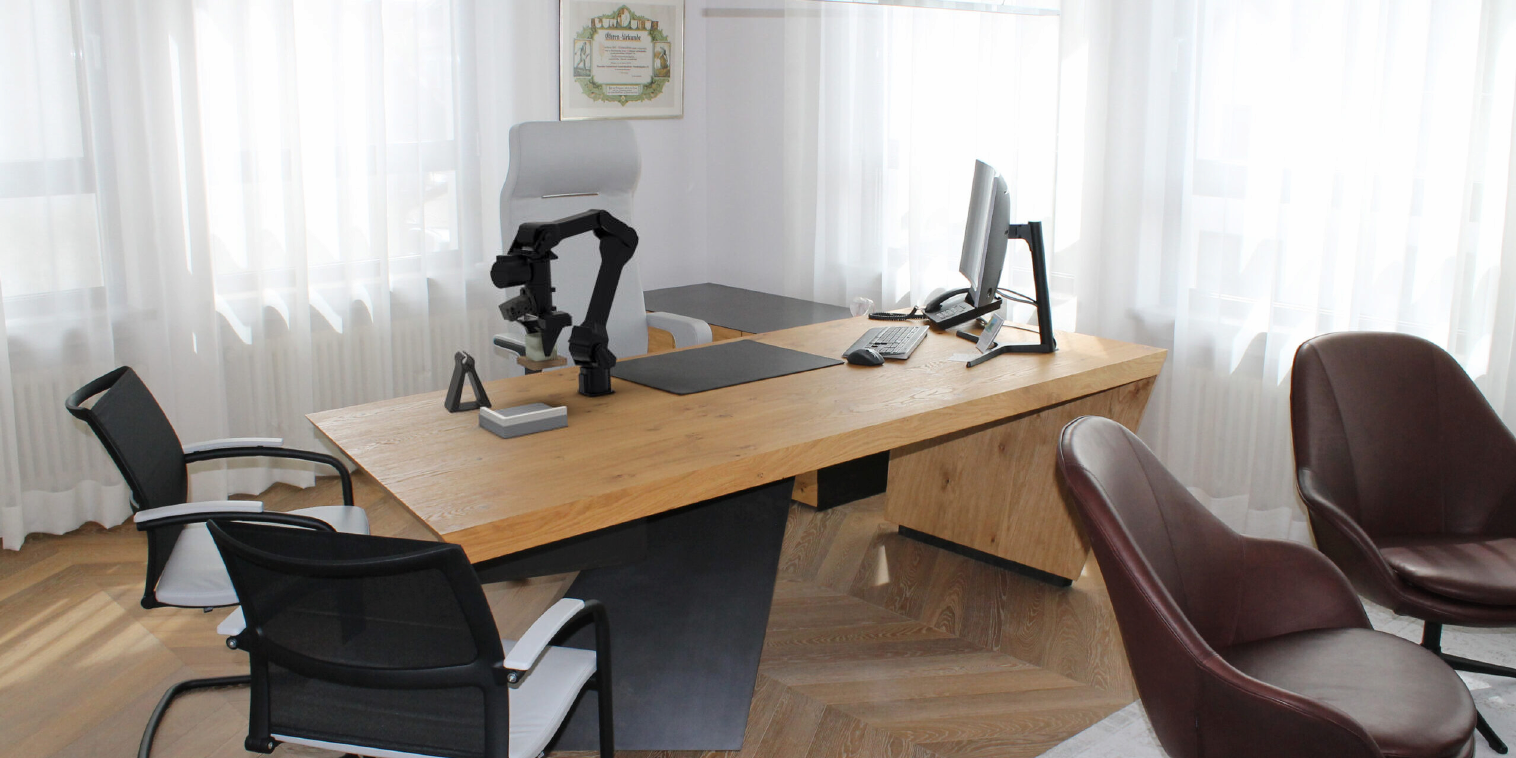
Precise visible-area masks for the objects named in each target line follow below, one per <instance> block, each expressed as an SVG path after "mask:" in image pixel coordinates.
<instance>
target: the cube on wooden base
mask: <svg viewBox="0 0 1516 758" xmlns="http://www.w3.org/2000/svg"><path fill="white" fill-rule="evenodd" d="M524 342H525V343H524V344H525V345H524V346H525V355H522V356H516V364H517V365H519V366H522V367H523V368H524V367H525V368H526V369H529V370H531V371H532V372H533V371H538V370H539V371H540V370H546V369H551V368H552V369H553V368H557V367H563V366H568V358H567V357H564V356H561V355H560V354H558V340H557V341H556V343H555V346H554V348H553V351H552V353H551V355H550V356H549V357H545V354H544V350H543V344H542V338H541V333H533V334H527V333H525V334H524Z"/></svg>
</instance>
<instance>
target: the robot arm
mask: <svg viewBox="0 0 1516 758" xmlns="http://www.w3.org/2000/svg"><path fill="white" fill-rule="evenodd" d="M516 231H517V232H516V235H515V237H514V239H513V240H512V242H511V244H510V247H509V249H508V251H507V253H506V254H498V255H496V256H495V259H496V261H495V262H494V263H492V265H491V268H490V269H491V270H490V271H489V272H490V273H489V275H490V280H491V282H492V284H493V285H494V286H495V287H496V289H497V288H498V289H500V290H501V289H508V288H514V287H519V286H520V288H519V295H517V296H515V297H512V298H510V299H508V300H505V301H504V302H502V303H501V304H499V305H498V309H499V311H500V314H501V316H502V318H503V320H505V321H506V320H507V321H509V323H510V322H511V323H513V322H516V323H518V324H519V325H520V326H521V327H523V329H524V330H525V334H533V333H541V338H542V344H543V350H544V354H545V357H549V356H550V355H551V353H552V351H553V348H554V346H555V343H556V341H557V342H558V339H559V338H560V337H559V336H560V335H561V332H562V330H563V329H565V328H566V327H572V328H571V332H570V337H569V338H568V340H567V343H568V352H569V354H570V356H571V357H572V360H573V363H574V365H575V366H579V373H578V375H577V377H578V378H577V379H578V389H577V392H578V393H580V394H583V395H586V396H588V397H597V396H602V395H608V394H614V393H615V392H616V390H615V389H613V388H612V375H611V374H612V372H611V369H612V368H615V367H616V364H617V360H618V358H617V356H616V355H615V354H614V353H613V351H611V350H610V349H609V348H608V347H609V341H610V339H609V335H608V330H607V329H608V328H607V324H608V321H609V317H610V312H611V310H612V306H613V303H614V300H615V297H616V293H617V289H618V285H619V282H620V280H621V274H622V272H623V268H624V266H625V265H626V264H627V263H628V262H629V261H630V260H631V259H632V258H633V256H634V254H635V252H636V249H637V247H638V245H639V239H640V237H639V235H638V233H637V231H636V229H635V228H634V227H631V226H629V225H628V224H627V223H625V222H623V221H622V220H620V219H618V218H617V217H615V216H613V215H612V214H611V213H610V211H608V210H605V209H600V208H599V209H598V208H590V209H588V210H586V211H583V212H580V213H577V214H573V215H569V216H566V217H563V218H558V219H556V220H551V221H531V222H527V221H526V222H523V223H521V224H520V225H519V226H518V229H517V230H516ZM590 231H591V232H592V234H593V236H594V237H595V238H597V239H598V240H599V246H598V251H599V253H600V254H599V255H600V258H601V262H600V265H599V270H598V272H597V276H596V280H595V283H594V287H593V290H592V294H591V297H590V299H589V304H588V308H587V311H586V314H585V318H584V320H583V321H582V322H581V323H580V325H575V324H574V325H573V316H572V315H571V314H570V313H569V312H567V311H563V310H558V308H557V306H556V305H554V303H553V293H556V291H557V290H556V286H552V285H553V284H552V267H551V265H552V264H551V261H555V260H556V261H557V260H558V259H559V256H558V254H556V253H555V252H553V250H552V249H555V247H557V246H559V244H560V243H561V241H564V240H565V239H568V238H571V237H574V236H575V237H576V236H577V235H578V236H579V235H582V234H584V233H587V232H590Z"/></svg>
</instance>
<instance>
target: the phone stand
mask: <svg viewBox="0 0 1516 758" xmlns="http://www.w3.org/2000/svg"><path fill="white" fill-rule="evenodd" d="M464 354H465V355H464ZM453 359H454V369H453V372H452V375H451V379H450V383H449V386H448V390H447V393H446V396H445V400H444V403H443V404H444V407H445V408H446V410H448V411H449V412H450V413H451V414H454V413H462V412H468V411H477V410H480V407H486V408H488V409H491V408H492V406H493V405H492V403H491V401H490V399H489V396H488V395H487V391H486V390H485V387H484V386H483V384H482V382H481V379H480V377H479V375H478V373H477V372H478V371H477V370H476V365H475V364H476V360H475V359H474V357H472V355H471V354H469V353H468V352H467V351H465V350H462V352H461V351H457V352H456V353H455V354H454V357H453ZM464 359H466V360H465V361H464ZM463 361H464V362H463ZM466 374H467V376H468V380H469V383H470V386H471V387H472V388H471V389H472V391H473V393H474V397H475V400H472V401H465V402H461V399H462V395H463V389H464V385H465V379H466Z"/></svg>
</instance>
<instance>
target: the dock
mask: <svg viewBox="0 0 1516 758" xmlns="http://www.w3.org/2000/svg"><path fill="white" fill-rule="evenodd" d="M477 416H478V425H479V426H480V427H482V428H484V429H485V430H488V431H490V432H491V433H493V434H494V435H496V436H499V437H501V438H503V439H508V438H516V437H520V436H525V435H529V434H535V433H539V432H545V431H549V430H554V429H559V428H564V427H568V424H569V422H568V407H567V406H566V405H563V406H557V407H552V406H549V405H547V404H545V403H543V402H534V403H528V404H523V405H518V406H513V407H508V408H507V407H506V408H502V409H496V410H491V408H486V407H480V409H479V413H478V415H477Z"/></svg>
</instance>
